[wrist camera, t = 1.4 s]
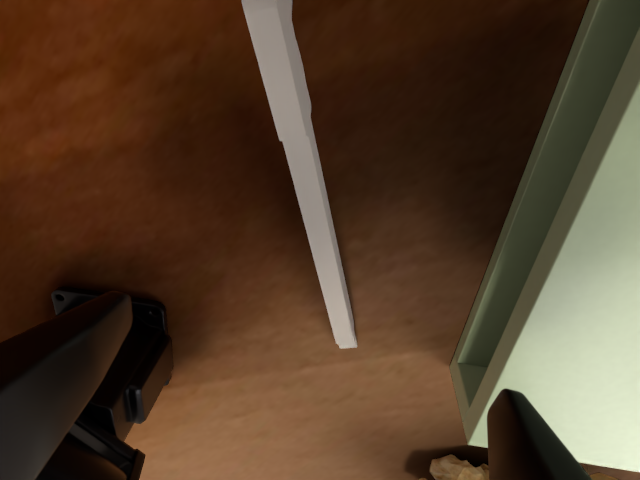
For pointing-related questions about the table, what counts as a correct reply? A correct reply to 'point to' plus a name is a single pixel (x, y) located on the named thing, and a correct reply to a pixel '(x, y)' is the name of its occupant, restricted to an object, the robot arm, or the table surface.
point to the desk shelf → (570, 261)
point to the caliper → (300, 149)
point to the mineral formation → (472, 470)
